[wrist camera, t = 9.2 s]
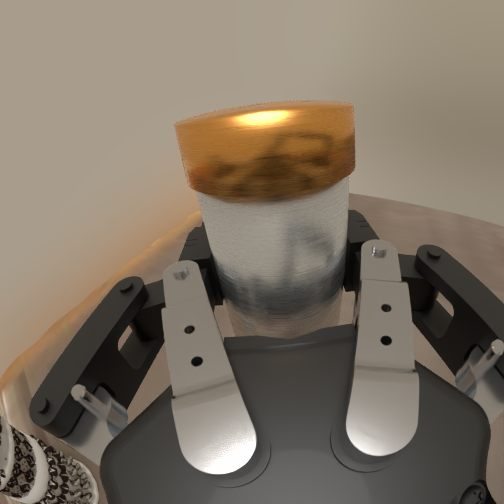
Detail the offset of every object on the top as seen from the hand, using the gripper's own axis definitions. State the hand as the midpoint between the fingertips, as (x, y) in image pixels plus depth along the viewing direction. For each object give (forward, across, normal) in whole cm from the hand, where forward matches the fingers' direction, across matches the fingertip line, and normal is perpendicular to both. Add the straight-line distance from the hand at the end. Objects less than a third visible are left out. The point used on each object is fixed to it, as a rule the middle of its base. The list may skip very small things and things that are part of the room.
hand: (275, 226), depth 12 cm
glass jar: (-3, 0, +8) cm, 9 cm away
